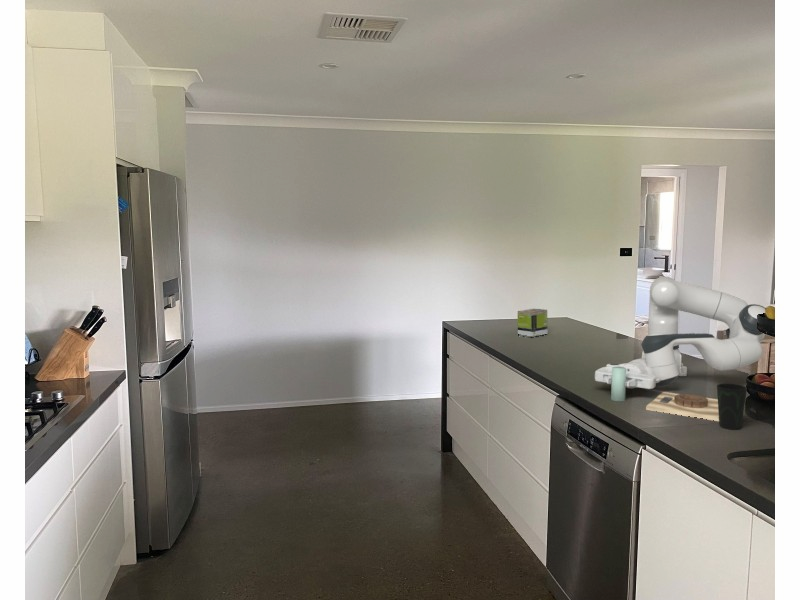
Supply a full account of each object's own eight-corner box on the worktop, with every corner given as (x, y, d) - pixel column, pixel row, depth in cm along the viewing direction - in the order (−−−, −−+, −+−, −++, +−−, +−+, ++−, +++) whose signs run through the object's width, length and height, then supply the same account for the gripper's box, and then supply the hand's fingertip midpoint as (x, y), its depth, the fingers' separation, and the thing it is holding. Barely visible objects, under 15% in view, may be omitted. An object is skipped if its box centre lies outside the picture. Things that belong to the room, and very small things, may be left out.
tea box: (533, 333, 344) (533, 308, 343) (547, 335, 337) (548, 309, 335) (516, 336, 335) (517, 310, 333) (531, 338, 327) (531, 311, 325)
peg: (613, 397, 207) (614, 366, 206) (626, 399, 204) (627, 367, 203) (609, 400, 203) (610, 368, 202) (622, 402, 200) (623, 370, 199)
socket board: (663, 395, 209) (663, 386, 209) (734, 405, 196) (734, 395, 195) (646, 409, 191) (646, 400, 191) (722, 422, 178) (723, 411, 178)
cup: (748, 426, 174) (750, 386, 173) (741, 432, 168) (743, 391, 167) (719, 421, 179) (721, 382, 178) (711, 427, 174) (713, 386, 173)
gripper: (661, 388, 207) (649, 396, 196) (603, 380, 220) (588, 387, 209) (661, 370, 206) (649, 378, 195) (603, 363, 219) (589, 369, 208)
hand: (617, 382), depth 202 cm, fingers closed on peg, 4 cm apart
